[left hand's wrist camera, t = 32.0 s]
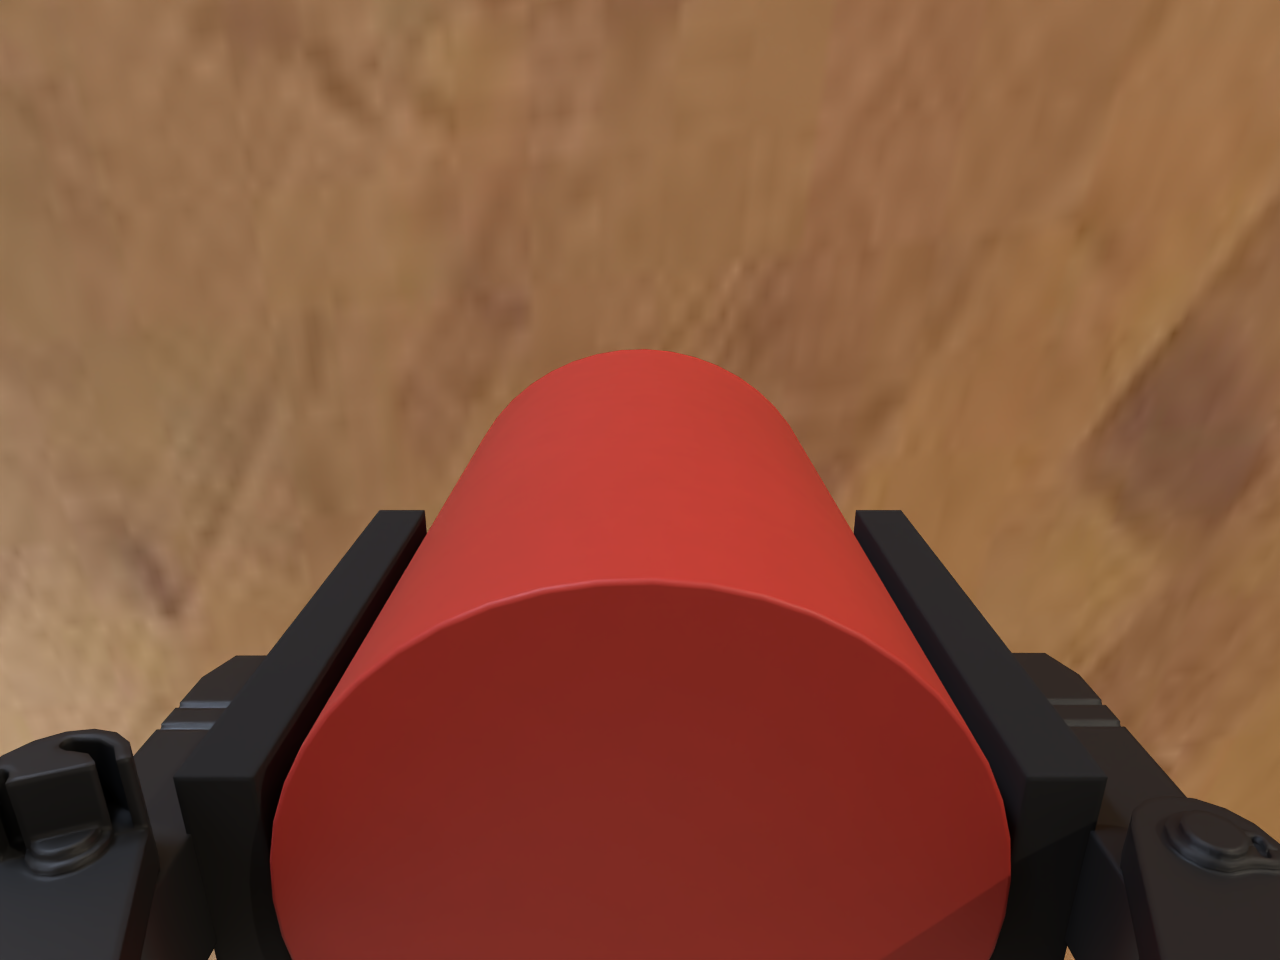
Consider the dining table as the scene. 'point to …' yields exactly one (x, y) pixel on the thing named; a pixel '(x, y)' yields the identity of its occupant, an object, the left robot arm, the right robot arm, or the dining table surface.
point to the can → (640, 712)
